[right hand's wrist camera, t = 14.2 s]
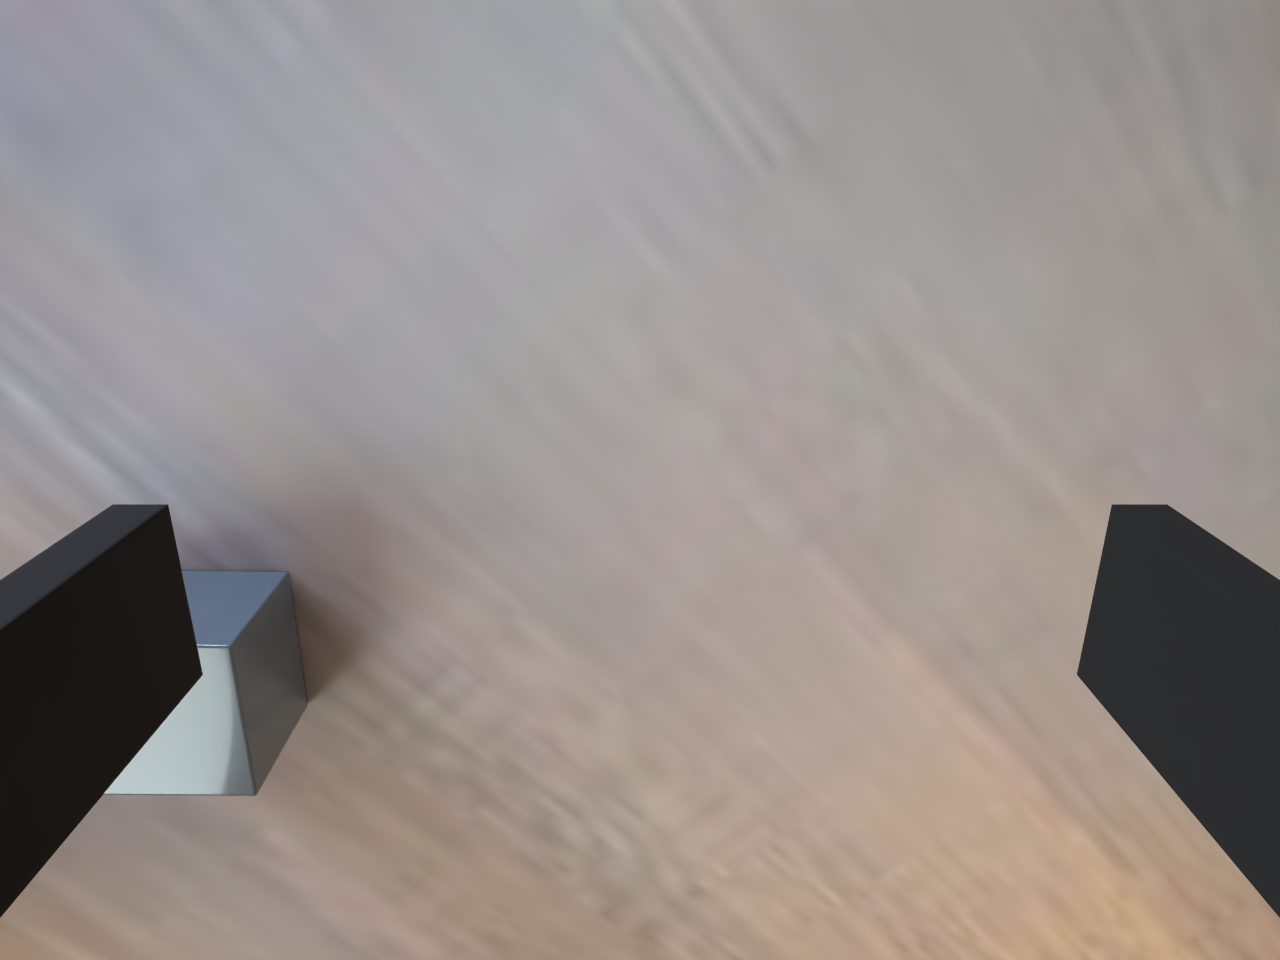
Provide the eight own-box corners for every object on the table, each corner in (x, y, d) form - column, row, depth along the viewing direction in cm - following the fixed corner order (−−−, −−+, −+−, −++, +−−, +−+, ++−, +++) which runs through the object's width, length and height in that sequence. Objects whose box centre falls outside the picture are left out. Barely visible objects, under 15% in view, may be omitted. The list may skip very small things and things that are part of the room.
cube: (129, 568, 25) (42, 643, 22) (289, 571, 26) (230, 645, 22) (158, 704, 27) (82, 795, 23) (308, 705, 27) (256, 797, 23)
